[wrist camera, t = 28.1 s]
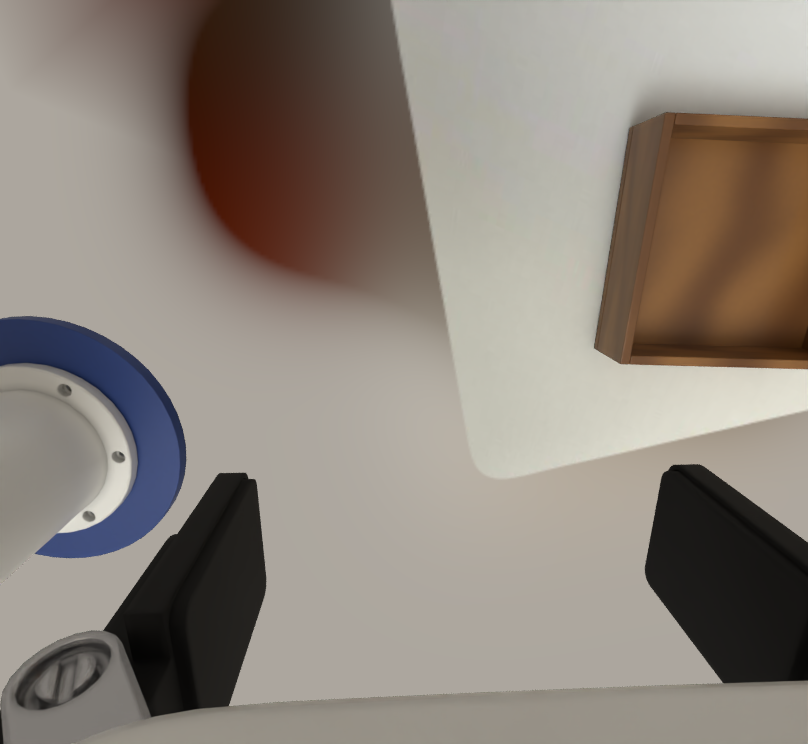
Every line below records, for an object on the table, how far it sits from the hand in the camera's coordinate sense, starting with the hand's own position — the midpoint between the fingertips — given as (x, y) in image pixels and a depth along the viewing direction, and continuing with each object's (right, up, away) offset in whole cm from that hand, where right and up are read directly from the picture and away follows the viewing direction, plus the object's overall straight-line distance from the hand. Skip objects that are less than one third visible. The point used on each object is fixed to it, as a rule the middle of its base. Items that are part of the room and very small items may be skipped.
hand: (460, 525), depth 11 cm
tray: (+20, +12, +21) cm, 31 cm away
